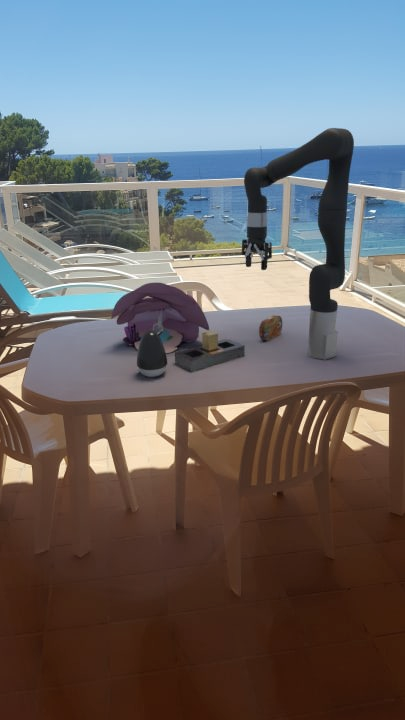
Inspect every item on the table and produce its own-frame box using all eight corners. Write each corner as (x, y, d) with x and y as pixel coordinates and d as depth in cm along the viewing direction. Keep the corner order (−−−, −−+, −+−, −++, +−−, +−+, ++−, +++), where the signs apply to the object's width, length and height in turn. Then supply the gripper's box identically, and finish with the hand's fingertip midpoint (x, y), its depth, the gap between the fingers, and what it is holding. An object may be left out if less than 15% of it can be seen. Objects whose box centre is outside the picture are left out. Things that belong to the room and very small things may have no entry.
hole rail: (227, 348, 189) (227, 338, 187) (244, 355, 181) (244, 345, 180) (175, 363, 175) (174, 352, 174) (191, 372, 168) (191, 360, 166)
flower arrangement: (122, 370, 183) (109, 302, 167) (113, 339, 202) (101, 275, 186) (212, 351, 190) (208, 284, 174) (195, 323, 209) (190, 260, 193)
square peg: (218, 357, 178) (217, 333, 174) (209, 359, 175) (208, 335, 172) (211, 354, 181) (210, 330, 177) (202, 356, 178) (202, 333, 175)
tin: (264, 343, 194) (264, 322, 191) (257, 341, 195) (257, 321, 192) (282, 333, 205) (283, 313, 202) (276, 331, 207) (276, 312, 203)
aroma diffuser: (174, 373, 167) (172, 330, 162) (151, 382, 160) (149, 338, 155) (153, 365, 174) (151, 324, 168) (131, 374, 167) (128, 332, 161)
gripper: (277, 225, 181) (276, 269, 187) (251, 222, 191) (250, 264, 197) (262, 227, 177) (261, 272, 183) (236, 224, 187) (236, 266, 193)
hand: (256, 268), depth 190 cm, fingers open, 8 cm apart
